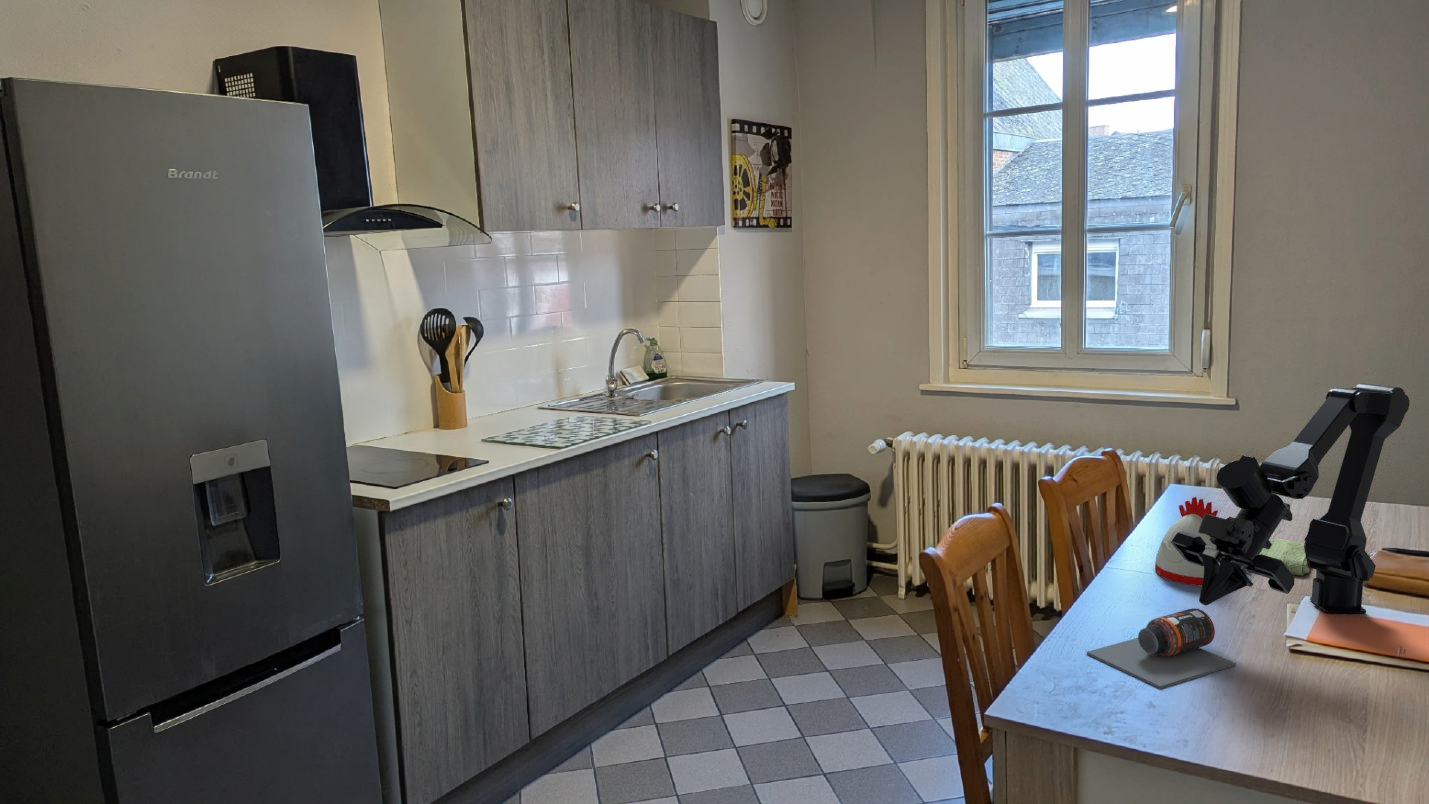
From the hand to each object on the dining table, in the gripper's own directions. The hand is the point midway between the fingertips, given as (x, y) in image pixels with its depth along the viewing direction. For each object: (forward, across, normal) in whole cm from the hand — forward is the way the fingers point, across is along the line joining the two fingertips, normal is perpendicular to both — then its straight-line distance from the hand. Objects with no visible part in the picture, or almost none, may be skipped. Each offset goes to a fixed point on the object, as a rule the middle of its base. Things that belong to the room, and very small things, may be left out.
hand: (1202, 603), depth 157 cm
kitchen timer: (-15, -24, +25) cm, 38 cm away
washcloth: (-28, -22, +39) cm, 53 cm away
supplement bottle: (+2, 0, +3) cm, 4 cm away
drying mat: (+12, 0, -1) cm, 12 cm away
